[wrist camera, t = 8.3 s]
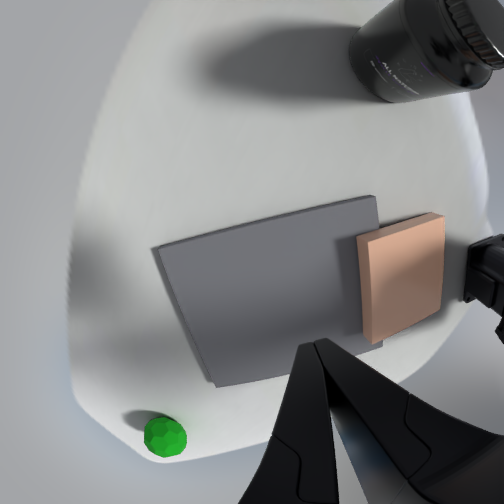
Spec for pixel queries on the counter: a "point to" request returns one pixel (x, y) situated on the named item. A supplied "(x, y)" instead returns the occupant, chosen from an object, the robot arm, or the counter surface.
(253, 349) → the mat
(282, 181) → the counter surface
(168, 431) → the polyhedron
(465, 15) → the supplement bottle
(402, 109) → the counter surface
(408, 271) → the tile
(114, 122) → the counter surface
